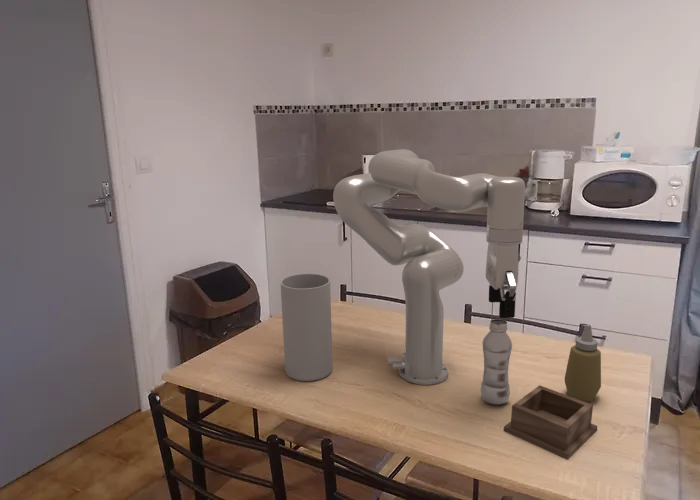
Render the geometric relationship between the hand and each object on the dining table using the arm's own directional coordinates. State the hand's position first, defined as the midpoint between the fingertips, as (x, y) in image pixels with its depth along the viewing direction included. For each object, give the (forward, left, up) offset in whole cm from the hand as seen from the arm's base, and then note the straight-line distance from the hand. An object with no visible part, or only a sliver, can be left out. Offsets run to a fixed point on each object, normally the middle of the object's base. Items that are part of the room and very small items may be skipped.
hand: (501, 309), depth 123 cm
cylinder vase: (-45, +16, -23) cm, 53 cm away
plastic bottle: (0, 0, -23) cm, 23 cm away
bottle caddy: (+9, -12, -23) cm, 27 cm away
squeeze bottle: (+21, +2, -23) cm, 31 cm away
